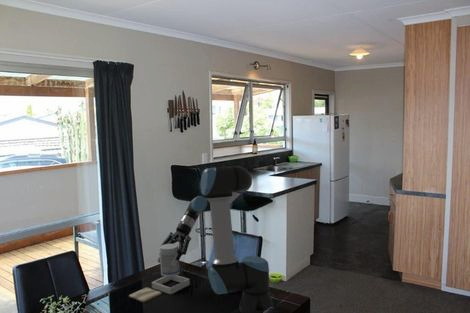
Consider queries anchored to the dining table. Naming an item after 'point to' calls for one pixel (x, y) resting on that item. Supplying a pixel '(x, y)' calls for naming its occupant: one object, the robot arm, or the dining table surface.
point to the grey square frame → (182, 284)
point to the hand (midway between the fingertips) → (165, 263)
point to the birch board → (145, 294)
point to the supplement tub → (169, 260)
